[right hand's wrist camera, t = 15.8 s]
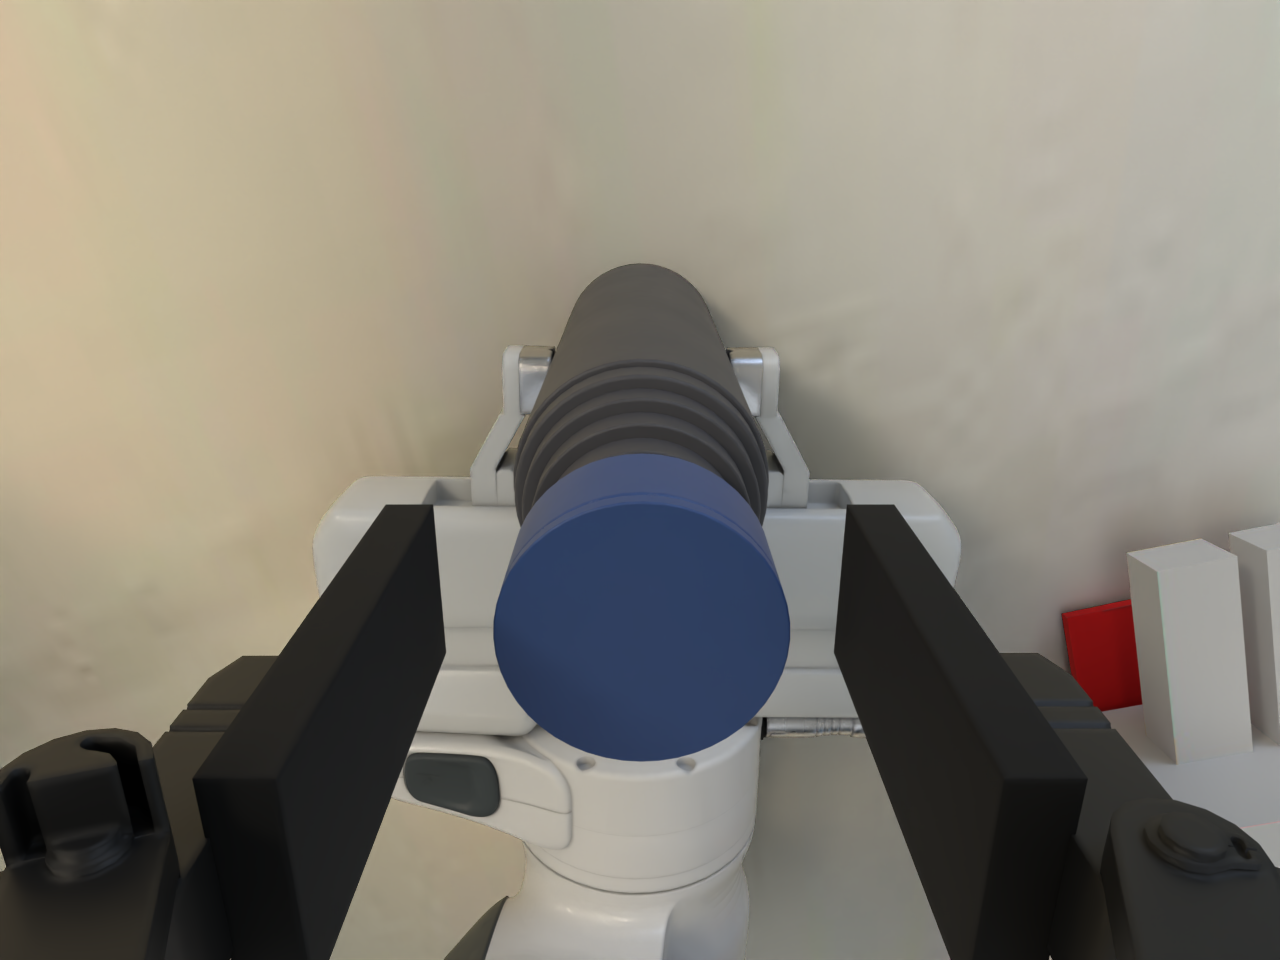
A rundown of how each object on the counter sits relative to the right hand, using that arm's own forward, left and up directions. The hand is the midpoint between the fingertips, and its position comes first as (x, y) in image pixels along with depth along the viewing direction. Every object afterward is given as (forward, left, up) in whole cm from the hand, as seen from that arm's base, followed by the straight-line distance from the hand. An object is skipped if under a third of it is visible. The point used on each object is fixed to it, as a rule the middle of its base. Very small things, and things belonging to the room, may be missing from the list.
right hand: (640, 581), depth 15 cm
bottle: (0, 0, -20) cm, 20 cm away
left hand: (-1, +1, -13) cm, 14 cm away
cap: (0, 0, +2) cm, 2 cm away
